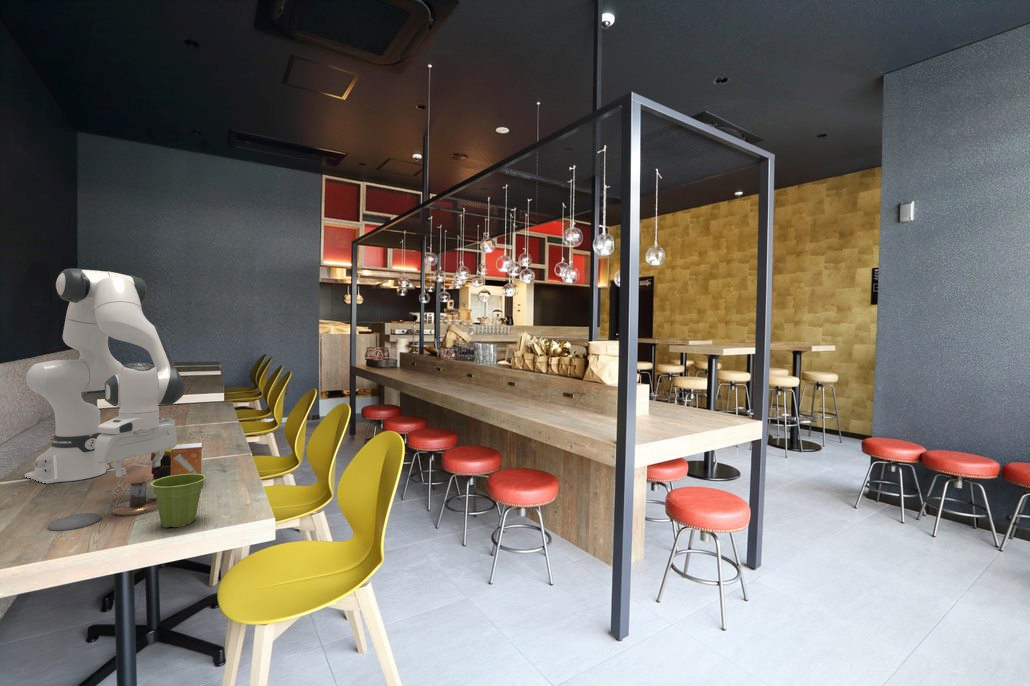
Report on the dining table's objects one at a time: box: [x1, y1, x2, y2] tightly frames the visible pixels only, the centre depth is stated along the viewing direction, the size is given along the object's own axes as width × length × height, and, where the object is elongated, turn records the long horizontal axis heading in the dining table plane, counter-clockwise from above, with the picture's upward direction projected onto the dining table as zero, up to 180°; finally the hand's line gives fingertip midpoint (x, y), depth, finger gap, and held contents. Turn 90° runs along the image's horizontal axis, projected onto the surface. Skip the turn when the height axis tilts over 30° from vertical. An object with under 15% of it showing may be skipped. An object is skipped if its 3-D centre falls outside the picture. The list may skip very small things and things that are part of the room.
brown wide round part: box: [111, 481, 158, 517], centre depth 132 cm, size 11×11×8 cm
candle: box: [150, 442, 184, 480], centre depth 161 cm, size 10×10×10 cm
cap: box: [122, 462, 154, 485], centre depth 132 cm, size 9×6×4 cm, turn 76°
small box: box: [171, 442, 203, 476], centre depth 151 cm, size 8×6×13 cm
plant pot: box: [149, 473, 207, 528], centre depth 123 cm, size 12×12×11 cm
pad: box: [47, 512, 102, 532], centre depth 121 cm, size 10×10×1 cm
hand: (138, 471), depth 132 cm, fingers open, 8 cm apart
